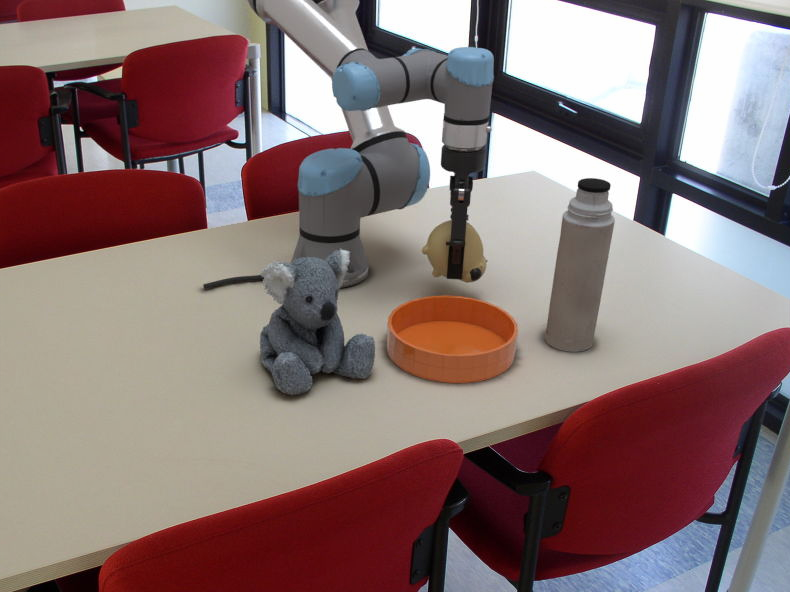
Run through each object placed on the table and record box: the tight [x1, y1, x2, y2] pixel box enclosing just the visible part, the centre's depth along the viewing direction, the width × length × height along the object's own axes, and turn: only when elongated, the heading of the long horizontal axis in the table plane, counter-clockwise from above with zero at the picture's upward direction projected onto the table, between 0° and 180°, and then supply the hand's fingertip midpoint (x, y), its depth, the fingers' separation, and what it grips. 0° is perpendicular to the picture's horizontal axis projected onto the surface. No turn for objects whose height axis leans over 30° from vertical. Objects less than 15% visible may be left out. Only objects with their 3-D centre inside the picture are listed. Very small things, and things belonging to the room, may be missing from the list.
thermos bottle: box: [544, 177, 616, 353], centre depth 147 cm, size 8×8×28 cm
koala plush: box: [259, 248, 376, 396], centre depth 142 cm, size 17×18×20 cm
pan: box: [386, 294, 519, 384], centre depth 150 cm, size 21×21×5 cm
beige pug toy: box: [421, 219, 488, 283], centre depth 163 cm, size 10×12×11 cm
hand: (454, 266), depth 165 cm, fingers closed on beige pug toy, 10 cm apart
